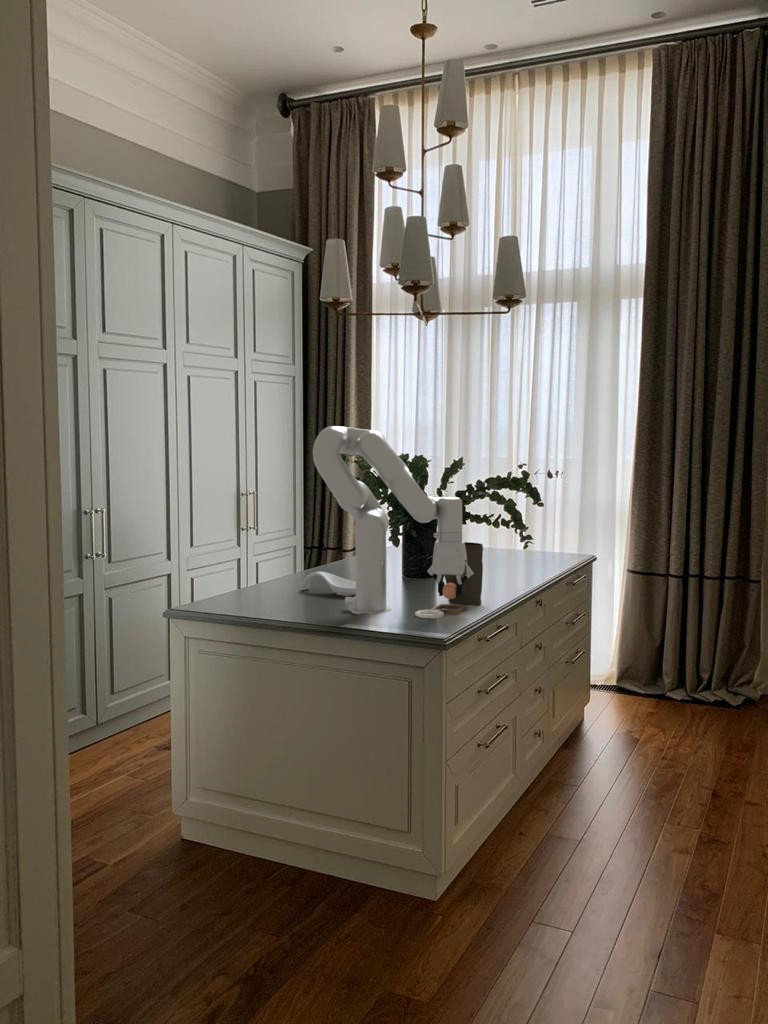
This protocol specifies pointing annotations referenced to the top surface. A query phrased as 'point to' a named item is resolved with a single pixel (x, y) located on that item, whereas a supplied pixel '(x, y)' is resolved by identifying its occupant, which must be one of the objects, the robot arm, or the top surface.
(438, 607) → the tray
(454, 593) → the ball
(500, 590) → the top surface
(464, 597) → the beer stein
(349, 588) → the spoon rest
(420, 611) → the octagonal white dish
